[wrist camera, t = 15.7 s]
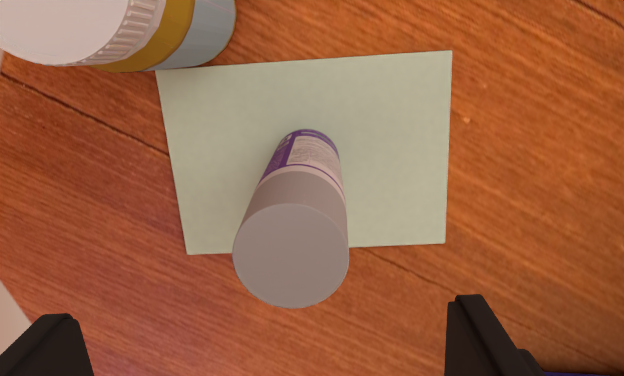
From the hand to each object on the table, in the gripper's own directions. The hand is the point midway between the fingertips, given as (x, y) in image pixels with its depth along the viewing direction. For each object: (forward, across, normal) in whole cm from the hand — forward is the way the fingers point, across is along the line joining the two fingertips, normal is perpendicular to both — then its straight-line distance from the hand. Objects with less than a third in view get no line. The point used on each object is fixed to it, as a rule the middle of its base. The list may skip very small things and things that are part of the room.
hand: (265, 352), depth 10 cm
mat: (+21, 0, +1) cm, 21 cm away
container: (+21, 0, 0) cm, 21 cm away
